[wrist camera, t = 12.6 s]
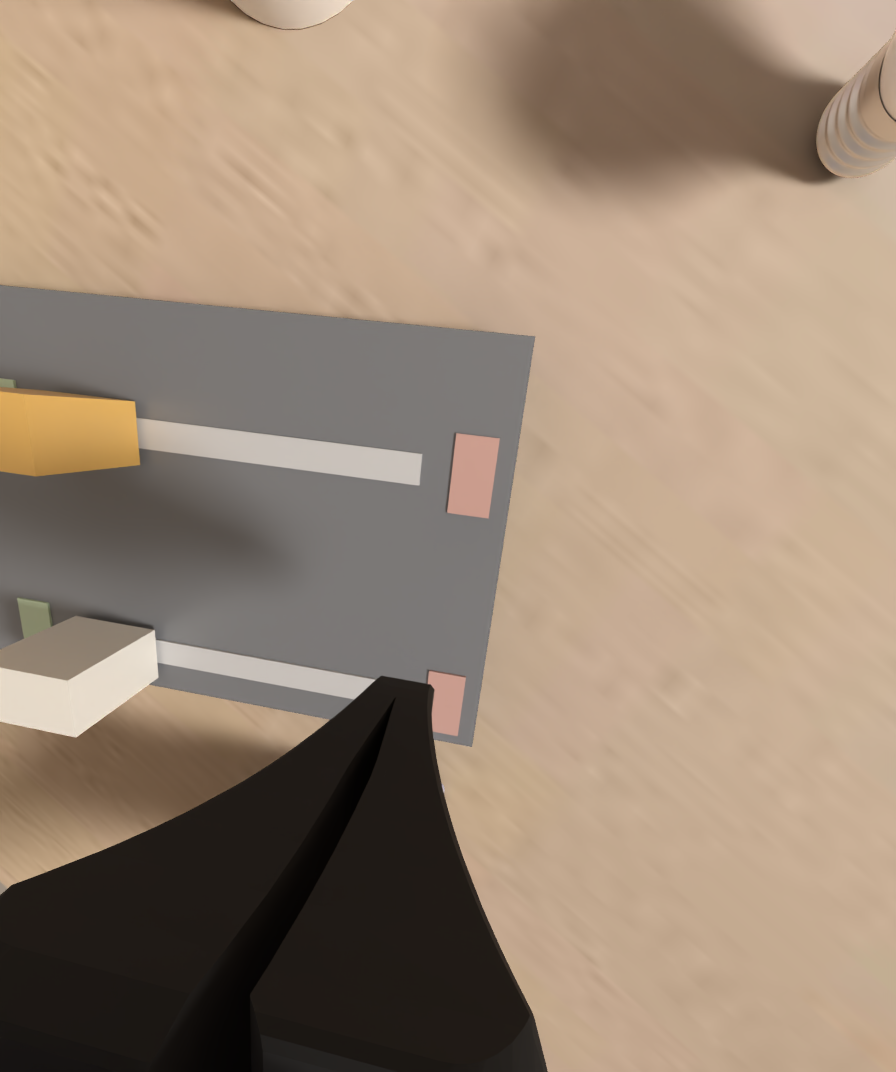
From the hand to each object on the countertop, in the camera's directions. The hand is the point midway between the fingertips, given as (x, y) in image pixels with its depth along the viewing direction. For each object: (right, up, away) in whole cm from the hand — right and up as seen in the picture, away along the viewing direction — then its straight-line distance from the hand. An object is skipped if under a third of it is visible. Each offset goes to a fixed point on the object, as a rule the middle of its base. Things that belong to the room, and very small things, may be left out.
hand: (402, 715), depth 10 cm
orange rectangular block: (-13, +9, +7) cm, 17 cm away
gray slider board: (-8, +5, +10) cm, 14 cm away
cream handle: (-14, -1, +10) cm, 17 cm away
